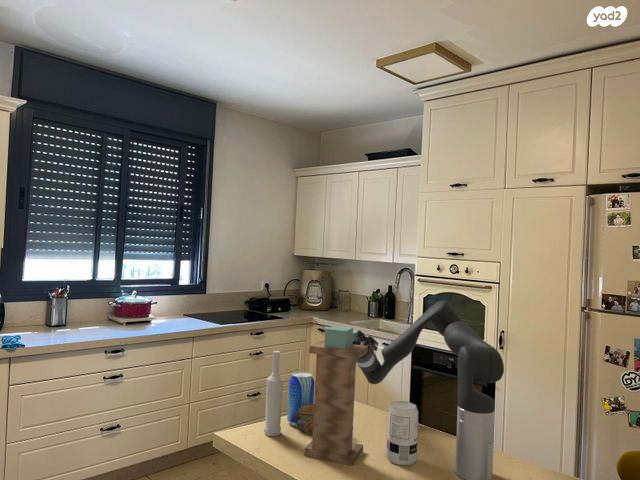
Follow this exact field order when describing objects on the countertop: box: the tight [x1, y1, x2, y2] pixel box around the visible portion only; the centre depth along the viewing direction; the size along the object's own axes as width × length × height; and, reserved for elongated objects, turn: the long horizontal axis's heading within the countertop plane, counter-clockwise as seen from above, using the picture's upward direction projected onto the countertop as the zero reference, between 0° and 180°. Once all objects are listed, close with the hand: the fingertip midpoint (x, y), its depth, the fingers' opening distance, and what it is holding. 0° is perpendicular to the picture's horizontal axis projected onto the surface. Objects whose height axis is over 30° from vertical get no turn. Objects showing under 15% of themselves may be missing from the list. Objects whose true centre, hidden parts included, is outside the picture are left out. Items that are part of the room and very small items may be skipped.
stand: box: [303, 340, 368, 467], centre depth 131 cm, size 14×10×30 cm
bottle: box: [263, 350, 284, 437], centre depth 144 cm, size 5×5×25 cm
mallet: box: [324, 325, 358, 349], centre depth 137 cm, size 6×19×5 cm, turn 159°
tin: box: [295, 404, 314, 434], centre depth 147 cm, size 15×3×8 cm, turn 84°
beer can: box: [286, 371, 315, 428], centre depth 153 cm, size 8×8×16 cm
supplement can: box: [386, 400, 419, 466], centre depth 129 cm, size 8×8×15 cm
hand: (350, 332), depth 141 cm, fingers open, 5 cm apart
